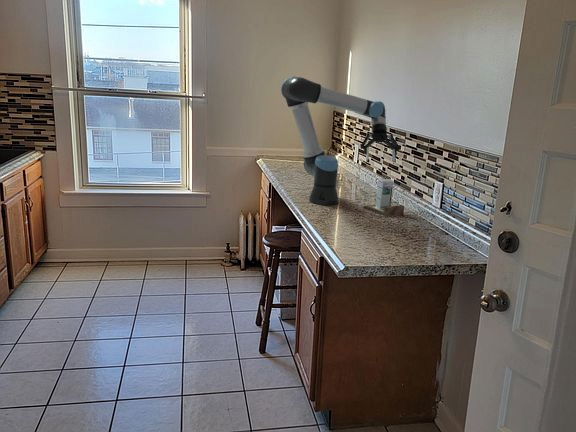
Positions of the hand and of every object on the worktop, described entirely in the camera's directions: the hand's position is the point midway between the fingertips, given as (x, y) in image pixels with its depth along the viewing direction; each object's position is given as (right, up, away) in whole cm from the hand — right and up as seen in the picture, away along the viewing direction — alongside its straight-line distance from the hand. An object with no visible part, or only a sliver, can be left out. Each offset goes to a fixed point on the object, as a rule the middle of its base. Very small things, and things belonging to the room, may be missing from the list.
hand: (380, 160), depth 262 cm
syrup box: (0, -25, -6) cm, 26 cm away
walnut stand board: (0, -26, -6) cm, 27 cm away
